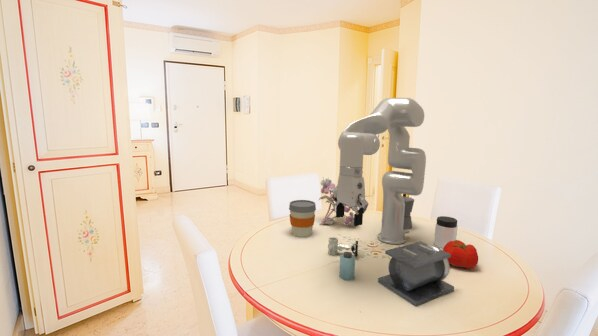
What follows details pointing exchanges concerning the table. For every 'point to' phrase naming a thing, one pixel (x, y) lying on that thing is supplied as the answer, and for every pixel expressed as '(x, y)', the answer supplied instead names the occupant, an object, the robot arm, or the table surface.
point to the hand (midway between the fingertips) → (348, 221)
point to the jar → (445, 230)
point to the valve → (340, 247)
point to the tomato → (461, 254)
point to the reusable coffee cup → (302, 217)
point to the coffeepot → (407, 212)
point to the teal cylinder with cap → (347, 266)
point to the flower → (325, 190)
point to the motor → (417, 272)
